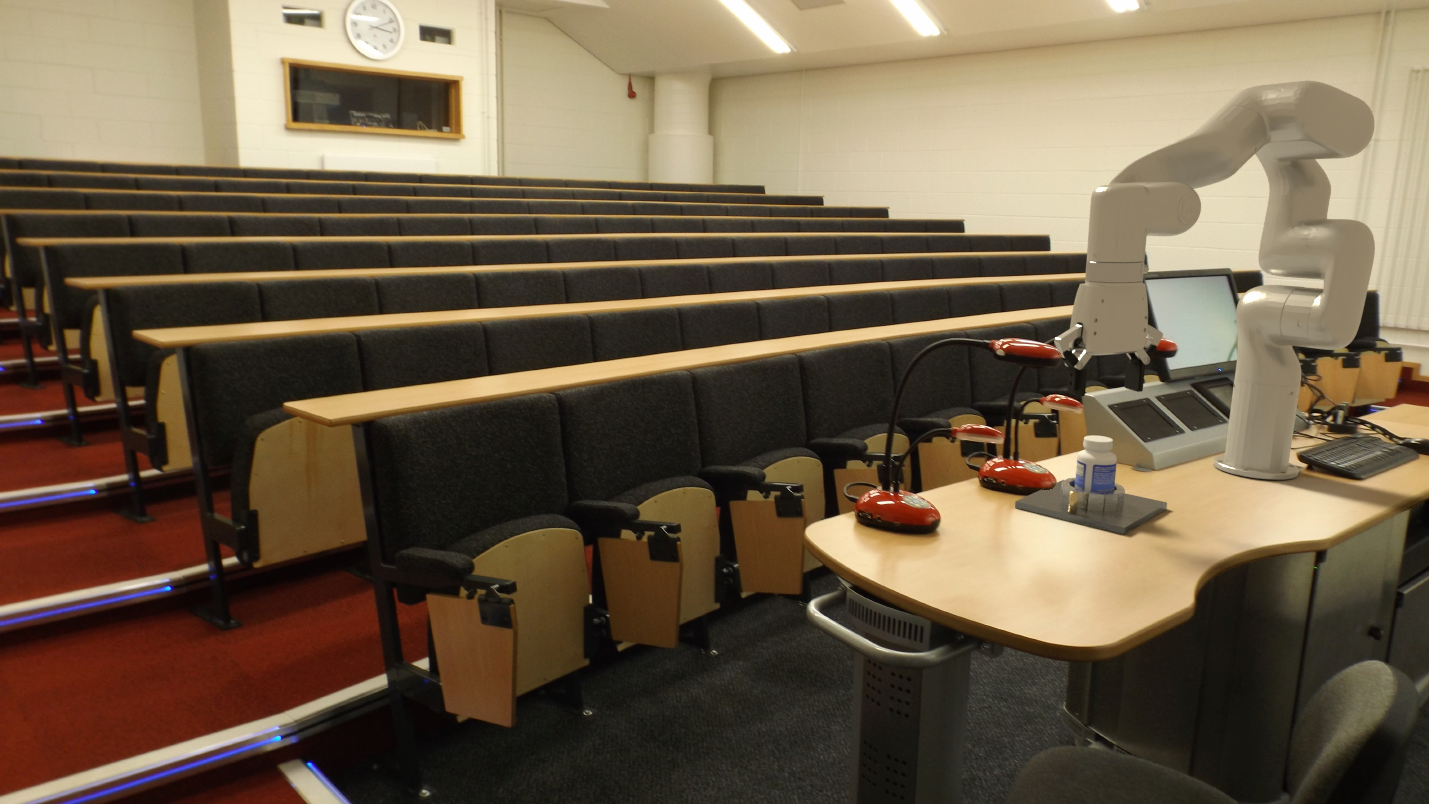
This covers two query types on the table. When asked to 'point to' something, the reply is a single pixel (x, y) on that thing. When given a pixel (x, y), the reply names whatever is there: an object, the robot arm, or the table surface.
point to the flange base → (1094, 517)
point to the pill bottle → (1096, 465)
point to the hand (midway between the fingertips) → (1104, 392)
